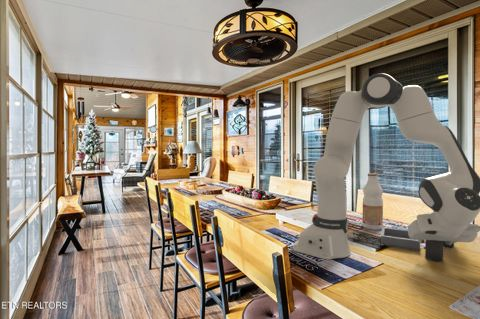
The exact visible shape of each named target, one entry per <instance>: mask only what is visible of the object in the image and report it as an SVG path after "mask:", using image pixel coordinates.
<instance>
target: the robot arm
mask: <svg viewBox="0 0 480 319" xmlns="http://www.w3.org/2000/svg"><path fill="white" fill-rule="evenodd" d="M386 107H388V108H390V109H391V110H392V111H393V113H394V116H395V118H396V122H397V126H398V128H399V132H400V133H401V135H402V136H403V137H404V138H405V139H407V140H408V141H410V142H414V143H417V144H428V145H433V146H435V147H436V148H438V149H439V151H440V152H441V154H442V156H443V158H444V159H445V161H446V163H447V165H448V167H449V172H446V173H441V174H436V175H433V176H430V177H426V178H424V179H422V180H421V181H420V183H419V184H418V196H419V198H420V199H421V201H422V202H423V204H424V205H425V206H427V207H428V208H429V209H431V210H432V211H433V210H434V211H435V212H428V213H420V214H417V215H416V219H415V220H413V221H412V222H411V223H410V225H409V226H408V227H407V229H406V230H407V231H408V235H409V237H410V238H411V239H418V242H419V243H420V244H424V243H426V240H437V241H445V244H446V245H451V244H452V243H454V244H456V243H473V242H474V241H475V240H476V238H477V236H478V233H479V232H480V225H478V224H473V221H474V220H475V219H476V218H477V216H478V215H479V214H480V175H478V173H477V172H476V170H474V168H473V167H472V166H471V165H472V164H470V163H471V162H470V161H469V160H468V157H467V156H466V154H465V152H464V151H463V147H462V146H461V145H460V143H459V141H458V139H457V137H456V136H455V134H454V132H453V131H452V129H451V128H449V127H448V126H447V125H444V124H442V123H441V122H440V120H439V119H438V118H437V116H436V113H435V112H434V108H433V105H432V103H431V101H430V99H429V97H428V95H427V93H426V92H425V90H424V89H423V88H422V86H419V85H416V84H415V85H414V84H413V85H406V86H403V85H402V83H400V82H399V81H398V80H397V79H395V78H394V77H393V76H391V75H389V74H387V73H383V72H381V73H374V74H372V75H371V76H369V77H368V78H366V79H365V81H364V82H363V84H362V86H361V89H360V90H359V91H358V90H357V91H354V90H350V91H349V90H348V91H344V92H343V93H341V95H339V98H338V100H337V101H336V103H335V106H334V108H333V111H332V114H331V119H330V121H329V125H328V127H327V132H326V136H325V145H324V152H323V156H321V157H319V158H318V159H317V160H316V162H315V163H314V166H313V169H312V170H313V176H314V182H315V189H316V198H317V199H316V200H317V201H316V202H317V211H316V212H317V213H315V214H314V215H313V216H312V218H311V222H312V224H310V225H309V226H307V227H306V228H304V229H303V230H302V231H301V232H300V233H299V236H298V240H296V241H295V242H294V243H293V244H292V251H294V252H298V253H301V254H303V255H309V256H312V257H315V258H320V259H323V260H333V259H343V258H344V259H345V258H347V257H349V256H350V255H351V249H350V246H349V241H348V231H349V220H348V217H347V207H348V206H347V193H346V181H345V180H346V176H348V173H349V171H350V166H351V163H352V159H353V154H354V150H355V145H356V141H357V138H358V135H359V131H360V129H361V125H362V121H363V117H364V115H365V113H366V111H368V110H377V109H378V110H379V109H383V108H386Z"/></svg>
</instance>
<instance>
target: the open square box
mask: <svg viewBox="0 0 480 319" xmlns="http://www.w3.org/2000/svg"><path fill="white" fill-rule="evenodd" d="M381 244H383V245H382V246H384V245H386V247H389V248H390V247H391V248H399V249H403V250H409V251H410V250H411V251H418V252H421V243H419V242H418V239H411V238H410V237H409V235H408V231H407V229H398V228H394V227H392V228H391V227H384V226H383V227H382V229H381V234H380V245H381Z"/></svg>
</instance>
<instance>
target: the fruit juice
mask: <svg viewBox="0 0 480 319" xmlns="http://www.w3.org/2000/svg"><path fill="white" fill-rule="evenodd" d="M367 177H368V179H367V180H366V184H365V186H363V189H362V192H363V198H362V227H363V228H365V229H368V230H373V231H374V230H375V231H377V230H378V231H379V230H382V227H384V226H383V224H384V223H383V221H384V216H383V215H384V199H383V196H382V195H383V193H384V190H383V188H382V185H381V184H380V182H379V173H377V172H375V173H374V172H370V173H367Z"/></svg>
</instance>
